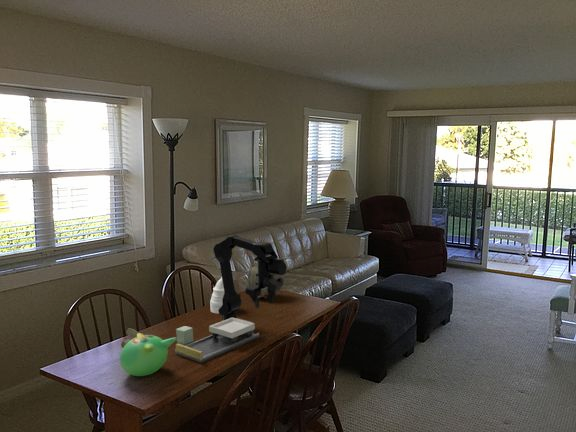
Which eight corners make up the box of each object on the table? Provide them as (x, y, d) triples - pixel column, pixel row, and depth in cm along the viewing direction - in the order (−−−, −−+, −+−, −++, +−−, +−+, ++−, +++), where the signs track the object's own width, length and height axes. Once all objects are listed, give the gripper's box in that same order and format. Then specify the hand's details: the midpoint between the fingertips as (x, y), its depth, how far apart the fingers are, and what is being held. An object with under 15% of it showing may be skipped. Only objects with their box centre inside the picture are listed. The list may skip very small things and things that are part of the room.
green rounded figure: (144, 360, 195) (141, 324, 194) (179, 366, 189) (177, 329, 187) (111, 379, 179) (109, 340, 177) (149, 387, 173) (147, 347, 171)
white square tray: (209, 338, 215) (209, 326, 214) (233, 328, 226) (233, 316, 226) (232, 345, 206) (231, 332, 205) (256, 334, 218) (256, 322, 217)
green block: (176, 342, 214) (176, 328, 213) (185, 338, 218) (185, 325, 217) (184, 344, 211) (183, 331, 210) (193, 341, 215) (192, 328, 214)
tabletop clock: (264, 293, 286) (263, 251, 283) (276, 296, 281) (275, 253, 278) (248, 300, 275) (247, 255, 272) (261, 302, 269) (259, 257, 266)
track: (175, 353, 202) (174, 344, 201) (234, 329, 228) (233, 321, 227) (201, 363, 192) (200, 353, 191) (259, 337, 218) (259, 328, 218)
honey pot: (240, 310, 257) (238, 276, 255) (218, 315, 249) (217, 280, 247) (227, 304, 267) (225, 272, 265) (206, 309, 259) (204, 276, 257)
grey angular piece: (128, 352, 200) (121, 328, 203) (121, 356, 204) (113, 334, 206) (146, 346, 207) (139, 324, 210) (138, 351, 211) (131, 329, 213)
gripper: (263, 279, 205) (263, 315, 207) (291, 270, 219) (291, 304, 222) (244, 274, 212) (244, 309, 214) (272, 266, 226) (272, 299, 229)
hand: (264, 305), depth 219 cm, fingers open, 9 cm apart
